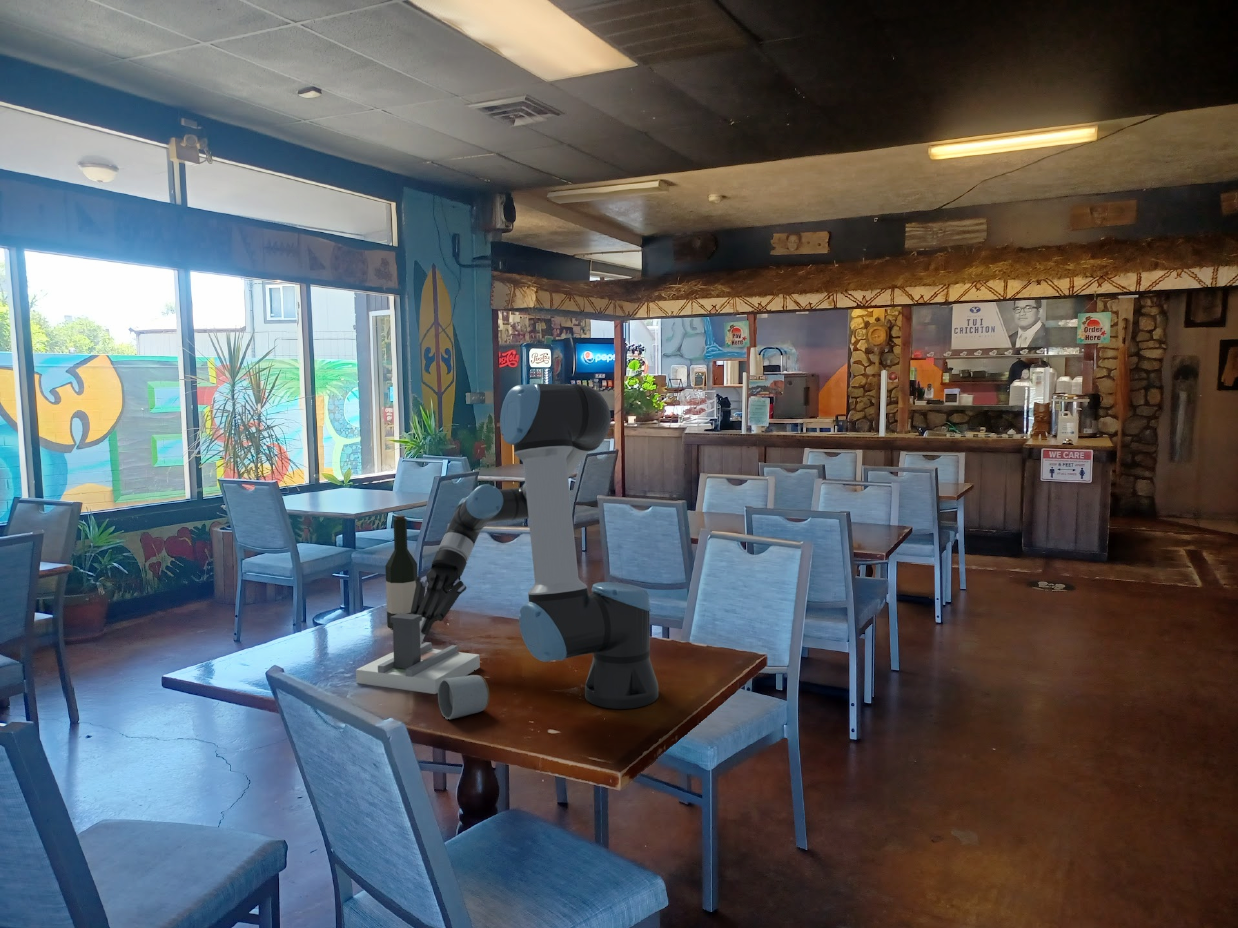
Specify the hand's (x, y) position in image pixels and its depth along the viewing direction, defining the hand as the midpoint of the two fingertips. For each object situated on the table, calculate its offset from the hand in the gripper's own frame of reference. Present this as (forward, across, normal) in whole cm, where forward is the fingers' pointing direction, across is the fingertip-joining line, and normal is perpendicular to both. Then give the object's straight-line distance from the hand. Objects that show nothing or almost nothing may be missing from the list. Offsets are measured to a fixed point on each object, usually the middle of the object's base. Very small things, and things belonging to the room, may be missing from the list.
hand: (413, 646), depth 182 cm
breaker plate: (+4, 0, -6) cm, 7 cm away
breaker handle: (+5, 0, -1) cm, 5 cm away
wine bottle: (-18, +28, -30) cm, 45 cm away
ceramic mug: (+15, -21, +5) cm, 26 cm away
